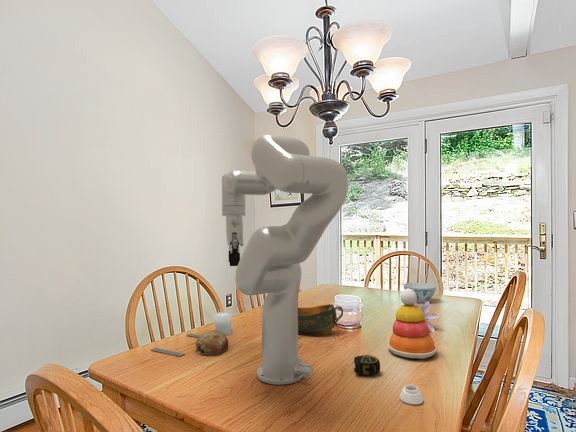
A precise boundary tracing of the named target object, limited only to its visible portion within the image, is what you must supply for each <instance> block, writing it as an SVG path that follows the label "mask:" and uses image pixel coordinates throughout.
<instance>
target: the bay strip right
mask: <svg viewBox="0 0 576 432" xmlns="http://www.w3.org/2000/svg"><path fill="white" fill-rule="evenodd" d="M200 335H201V334H197V333H187V334H186V337H189V338H197V339H198V337H199V336H200Z"/></svg>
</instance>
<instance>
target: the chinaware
mask: <svg viewBox="0 0 576 432" xmlns="http://www.w3.org/2000/svg"><path fill="white" fill-rule="evenodd" d="M403 289H404V290H405V289H412V290H413V291H414V292H415V293H416V296H417V301H416V303H417V304H418V303H419V304H424V303H425V302H427V301H429V300H430V299H431V298H432V297H433V296H434V295H435V293H436V289H437V285H435V284H432V283H427V282H425V283H424V282H405V283H403Z"/></svg>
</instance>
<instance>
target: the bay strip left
mask: <svg viewBox="0 0 576 432" xmlns="http://www.w3.org/2000/svg"><path fill="white" fill-rule="evenodd" d="M150 351H151V352H155V353H160V354H164V355H168V356H172V357H173V356H175V357H178V358H181V357H183V356H185V353H182V352H178V351H173V350H168V349H164V348H163V349H162V348H159V347H154V348H153V349H150Z"/></svg>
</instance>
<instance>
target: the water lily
mask: <svg viewBox="0 0 576 432" xmlns="http://www.w3.org/2000/svg"><path fill="white" fill-rule="evenodd" d="M414 305H416V306H418V307H419V308H420V306H419V304H418V302H416V303H415V304H414ZM431 307H432V306H431V303H430V301H429V300H427V302H425V303H423V305H422V306H421V308H420V309H421V310H422V311H423V313H424V316H425V321H426V322H427V324H428V326H429V330H430V333H436V330H435V328H434V326H433V324H432V323H430V322H429V320H430V321H431V320H436V319H438V318H439V317H440V315H439V314H437V313H428V312H429V310H430V308H431Z"/></svg>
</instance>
